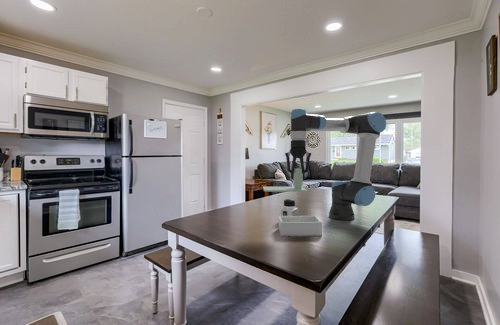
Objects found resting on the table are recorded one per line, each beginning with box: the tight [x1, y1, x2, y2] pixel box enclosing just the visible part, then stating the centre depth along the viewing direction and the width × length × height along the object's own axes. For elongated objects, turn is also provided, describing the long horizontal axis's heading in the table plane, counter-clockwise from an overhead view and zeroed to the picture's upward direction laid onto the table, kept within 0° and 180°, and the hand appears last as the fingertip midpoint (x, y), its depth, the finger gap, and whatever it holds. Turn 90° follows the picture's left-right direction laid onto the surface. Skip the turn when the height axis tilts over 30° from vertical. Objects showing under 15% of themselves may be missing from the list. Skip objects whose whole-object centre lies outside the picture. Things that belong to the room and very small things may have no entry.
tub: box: [278, 215, 323, 238], centre depth 125 cm, size 20×12×7 cm, turn 89°
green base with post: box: [262, 168, 309, 193], centre depth 125 cm, size 21×13×11 cm, turn 90°
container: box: [280, 198, 299, 216], centre depth 146 cm, size 8×8×13 cm
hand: (297, 185), depth 125 cm, fingers closed on green base with post, 3 cm apart
